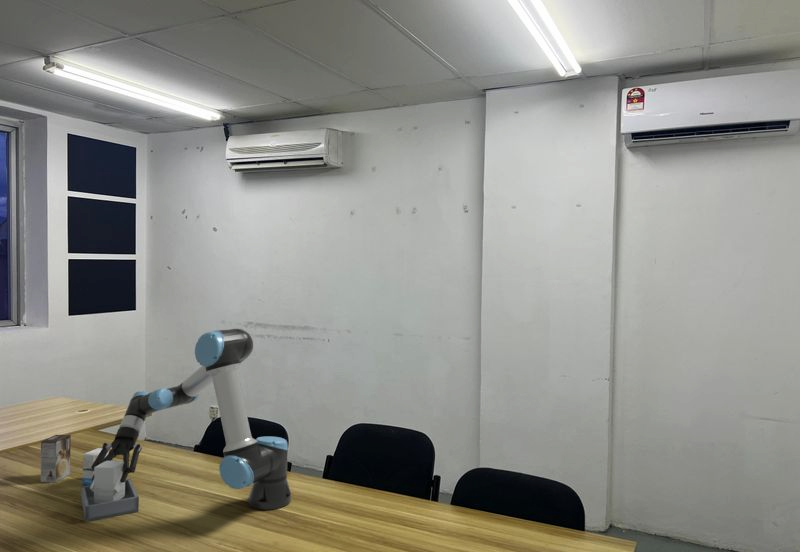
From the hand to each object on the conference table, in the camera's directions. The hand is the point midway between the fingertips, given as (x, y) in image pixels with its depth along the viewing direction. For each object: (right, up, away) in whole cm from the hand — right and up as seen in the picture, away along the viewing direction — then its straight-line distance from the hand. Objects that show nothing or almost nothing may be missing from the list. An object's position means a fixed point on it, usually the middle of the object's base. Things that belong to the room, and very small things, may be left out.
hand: (104, 490), depth 192 cm
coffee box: (-34, -6, +28) cm, 44 cm away
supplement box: (0, -5, +4) cm, 6 cm away
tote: (0, -7, +3) cm, 8 cm away
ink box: (-17, -7, +26) cm, 32 cm away
